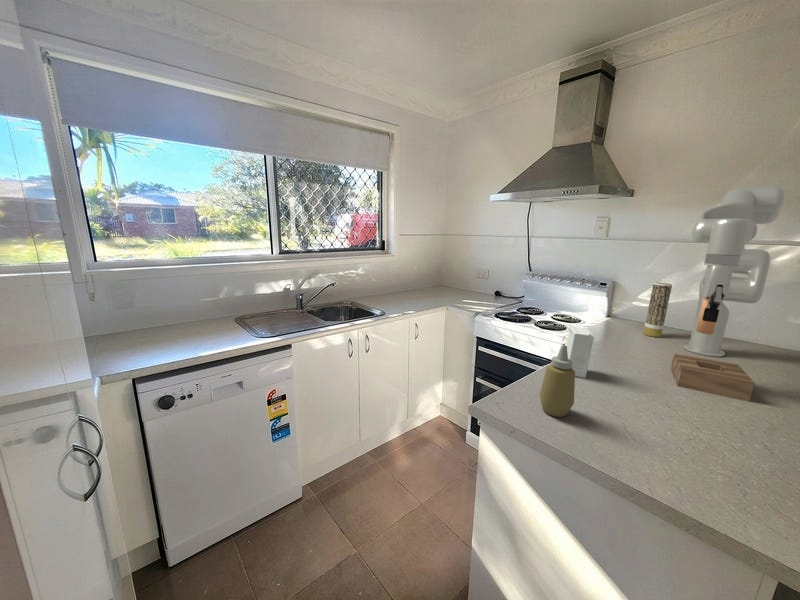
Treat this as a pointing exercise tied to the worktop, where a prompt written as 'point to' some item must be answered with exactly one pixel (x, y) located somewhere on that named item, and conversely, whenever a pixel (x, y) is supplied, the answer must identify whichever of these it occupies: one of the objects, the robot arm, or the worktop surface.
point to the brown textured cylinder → (657, 309)
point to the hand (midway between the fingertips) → (707, 319)
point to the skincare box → (579, 349)
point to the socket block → (711, 376)
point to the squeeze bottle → (558, 385)
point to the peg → (702, 325)
